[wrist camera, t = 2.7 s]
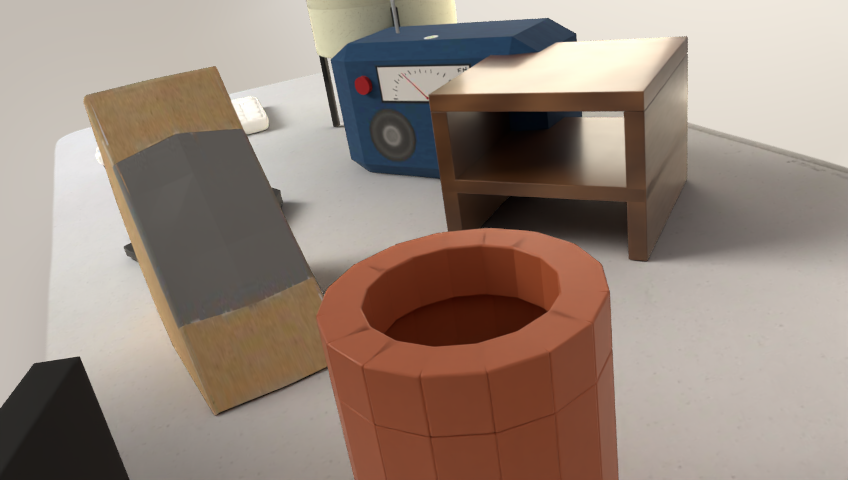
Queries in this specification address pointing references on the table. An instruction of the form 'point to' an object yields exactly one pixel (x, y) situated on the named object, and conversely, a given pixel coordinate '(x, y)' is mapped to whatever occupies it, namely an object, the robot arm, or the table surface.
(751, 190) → the table surface
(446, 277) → the canister
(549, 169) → the shelf
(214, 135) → the sandwich container
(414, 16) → the planter
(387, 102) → the radio
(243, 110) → the calculator
